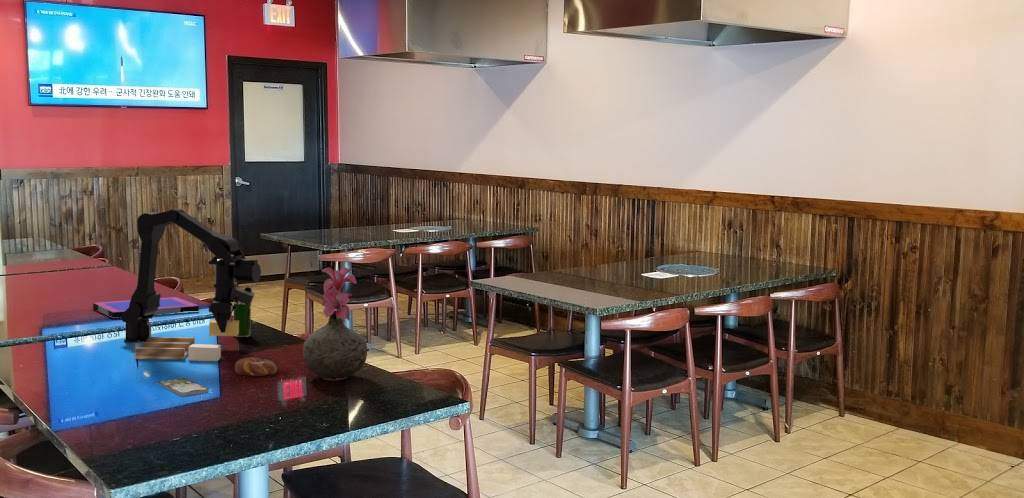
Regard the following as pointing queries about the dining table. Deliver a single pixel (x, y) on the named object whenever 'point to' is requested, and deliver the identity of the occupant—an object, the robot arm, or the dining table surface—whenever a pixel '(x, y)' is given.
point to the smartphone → (183, 386)
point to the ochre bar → (230, 330)
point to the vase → (335, 334)
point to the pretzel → (255, 367)
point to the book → (165, 307)
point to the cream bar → (204, 352)
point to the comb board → (165, 348)
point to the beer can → (243, 319)
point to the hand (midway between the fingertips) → (224, 330)
